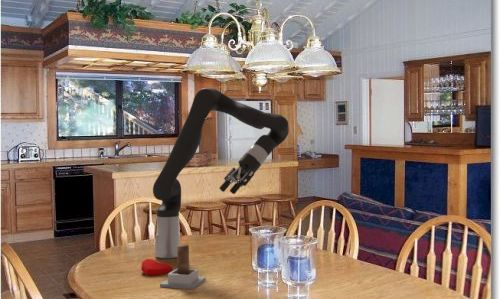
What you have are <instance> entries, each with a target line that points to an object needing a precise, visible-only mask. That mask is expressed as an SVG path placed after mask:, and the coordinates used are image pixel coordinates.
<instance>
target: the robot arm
mask: <svg viewBox="0 0 500 299" xmlns="http://www.w3.org/2000/svg"><path fill="white" fill-rule="evenodd" d="M189 109H190V110H189V112H188V115H187V118H186V119H185V122H184V123H183V126H182V128H181V130H180V132H179V134H178V136H177V138H176V141H174V145H173V147H172V150H171V152H170V153H169V155H168V158H167V160H166V162H165V164H164V167H163V168H162V170H161V171H160V173H159V175H158V176H157V179H156V180H155V181H154V183H153V186H152V194H153V196H154V198H155V199H156V200H159V201H161V205H160V206H159V207H157V209H156V234H154V235H155V236H154V239H155V245H154V246H155V251H154V252H155V258H160V259H174V258H175V259H177V246H178V245H180V210H181V207H182V185H181V183H180V181H179V179H177V178H178V176H179V174H180V173H181V172H182V170H184V168H185V167H186V166H187V165H188V164H189V163H190V162H191V161H192V159H193V158H194V156H195V155H196V152H197V151H198V148H199V146H200V144H201V139H202V133H203V127H204V123H205V121H206V119H207V117H209V114H210V112H213V111H216V112H219V113H223V114H226V115H230V116H231V117H233V118H235V119H236V120H238V121H240V122H241V123H243V124H245V125H247V126H250V127H252V128H255V129H257V130H262V129H264V128H266V129H269V132H268V133H267V134H262V135H261V136H260V137H259V138H258V139H257V140H256V141H255V142H254V143H253V144H252V146H250V147H249V149H247V151H246V152H245V153H244V154H243V155H242V157H240V159H239V160H238V167H237V168H235V167H232V168H231V169H230V170H229V172H228V173H227V174H226V175H225V176H224V177H223V179H224V181H223V183H222V184H221V185H220V186H219V190H220V191H221V192H222V193H224V192H225V191H227V189H228V188H229V187H230V185H232V184H233V183H234V184H233V185H232V186H231V188H230V189H229V192H230V193H231V194H232V195H235V194H236V193H237V192H238V190H239V189H240V188H242V187H246V186H247V184H248V183H249V182H250V181H251V180H252V178H253V177H254V176H255V174H256V172H257V171H258V170H259V169H260V168H261V166H262V165H263V164H264V163H265V161H266V160H267V159H268V157H269V156H270V155H271V153H272V152H273V150H274V149H275V148H277V147H278V146H279V145H281V144H282V143H283V142H284V141H285V140H286V139H287V137H288V136H289V133H290V129H289V128H290V127H289V120H287V118H286V117H284V116H283V115H281V114H278V113H277V114H276V113H272V112H264V111H262V110H260V109H257V108H255V107H253V106H249V105H247V104H244V103H241V102H239V101H237V100H234V99H233V98H231V97H229V96H227V95H226V94H224V93H222V92H221V91H219V90H217V89H216V88H214V87H213V88H212V87H204V88H200V89H199V90H198V91H197V92H196V94H195V95H194V98H193V100H192V104H191V107H190V108H189Z"/></svg>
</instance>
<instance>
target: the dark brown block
mask: <svg viewBox="0 0 500 299" xmlns="http://www.w3.org/2000/svg"><path fill="white" fill-rule="evenodd" d="M189 247H190V246H189V244H179V245H178V246H177V257H176V260H177V261H176V262H177V263H176V264H177V268H178V274H184V275H189V269H190V248H189Z"/></svg>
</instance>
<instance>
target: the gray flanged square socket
mask: <svg viewBox="0 0 500 299" xmlns="http://www.w3.org/2000/svg"><path fill="white" fill-rule="evenodd" d="M206 278H207V277H206V276H199V269H193V268H189V275H184V274H178V267H177V268H175V269H173V270H172V271H171V272H170V273H168V274H167V279H166V280H164V281H162V282H161V283H160V284H159V287H160V288H172V289H181V290H182V289H184V290H194V289H196V288H197V287H198V286H200V285H201V284H202V283H203V282H204V281H206Z"/></svg>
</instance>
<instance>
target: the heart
mask: <svg viewBox="0 0 500 299" xmlns="http://www.w3.org/2000/svg"><path fill="white" fill-rule="evenodd" d="M140 268H141V269H140V270H141V272H143V273H144V274H145V275H146V276H149V277H150V276H151V277H153V276H155V277H156V276H157V277H158V276H163V275H168V274H169V273H170V272H172V271H173V267H172V265H171V264H169V263H166V262H159V261H157V260H156V259H153V258H146V259H144V260H143V261H141V266H140Z"/></svg>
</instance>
